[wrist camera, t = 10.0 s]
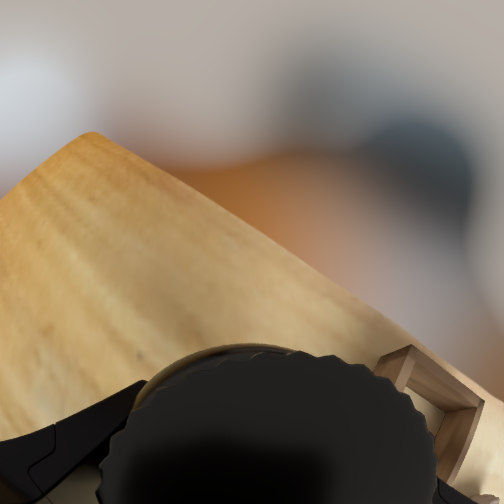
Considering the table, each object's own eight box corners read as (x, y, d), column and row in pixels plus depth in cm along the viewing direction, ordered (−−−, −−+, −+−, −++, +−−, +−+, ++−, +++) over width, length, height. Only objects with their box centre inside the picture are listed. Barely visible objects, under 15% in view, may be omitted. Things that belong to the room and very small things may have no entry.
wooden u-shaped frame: (402, 509, 13) (432, 518, 9) (309, 473, 15) (333, 486, 12) (453, 407, 19) (484, 401, 15) (380, 356, 21) (411, 344, 18)
